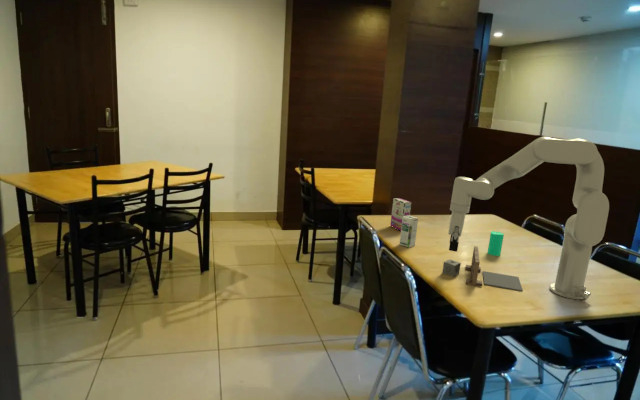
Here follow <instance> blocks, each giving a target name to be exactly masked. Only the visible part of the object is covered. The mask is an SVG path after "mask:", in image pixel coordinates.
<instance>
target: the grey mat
mask: <svg viewBox="0 0 640 400" xmlns="http://www.w3.org/2000/svg"><path fill="white" fill-rule="evenodd" d="M482 277H483V285H484V286H491V287H494V286H495V288H500V287H501V289H507V290H511V289H512V290H513V291H517V290H518V292H524V291H523V290H524V289H523V287H522V284H521V281H520V277H519V276H515V275H509V274H502V273H497V272H491V271H486V270H483V271H482Z"/></svg>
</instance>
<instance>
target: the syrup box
mask: <svg viewBox="0 0 640 400" xmlns="http://www.w3.org/2000/svg"><path fill="white" fill-rule="evenodd" d="M418 222H419V217H416V216H412V215H410V216H409V215H407V216H403V218H402V227H401V231H400V237H399V245H400V246H403V247H406V248H411V247H414V246H415V245H416V239H417V231H418V230H417V229H418Z"/></svg>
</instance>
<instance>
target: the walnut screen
mask: <svg viewBox="0 0 640 400" xmlns="http://www.w3.org/2000/svg"><path fill="white" fill-rule="evenodd" d="M479 253H480V252H479V247H478V245H477V246H476V245H475V246H473V252H472V258H471V259H472V260H471V264H465V270H466V271H470V272H471V273H470V275H471V277H470V278H468V277H467V278H466V279H465V285H468V286H470V285H471V286H472V285H473V287H480V286H482V287H483V280H478V276H479V273H481V270H482V268H481V267H480V254H479Z"/></svg>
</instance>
